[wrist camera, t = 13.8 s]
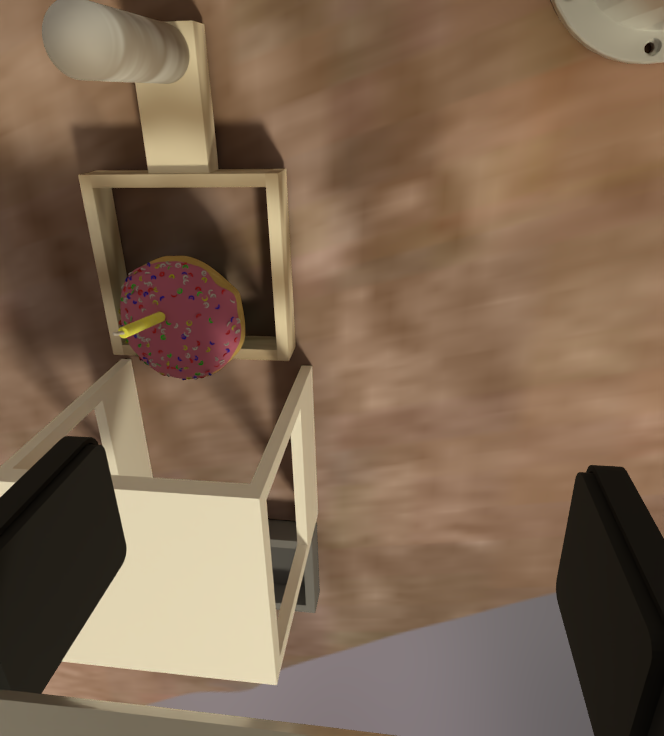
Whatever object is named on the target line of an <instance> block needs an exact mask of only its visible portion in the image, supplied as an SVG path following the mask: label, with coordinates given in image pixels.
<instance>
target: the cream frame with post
mask: <svg viewBox="0 0 664 736" xmlns="http://www.w3.org/2000/svg"><path fill="white" fill-rule="evenodd" d="M42 37H43V43H44V47H45V49H46V52H47V54H48V56H49V58H50V59H51V61H52V62H53V64H54V65H55V66H56V67H57V68H58V69H59V70H60V71H61V72H62V73H64V74H65V75H67V76H68V77H70V78H73V79H76V80H87V81H111V82H135V85H136V92H137V99H138V106H139V112H140V119H141V126H142V132H143V139H144V146H145V153H146V159H147V166H148V170H97V171H93V172H88V173H84V174H80V175H78V177H79V182H80V187H81V193H82V198H83V203H84V208H85V213H86V218H87V223H88V228H89V233H90V238H91V243H92V248H93V253H94V258H95V263H96V268H97V273H98V279H99V284H100V289H101V294H102V299H103V304H104V309H105V314H106V319H107V324H108V329H109V334H110V339H111V344H112V349H113V354H114V355H135V356H137V355H136V353H135V351H134V350H133V349H132V348H131V346H130V345H129V343H126V338H121V337H120V336H119V335H118V336H114V335H113V334H112V333H113V332H118V330H119V328H120V327H121V325H119V321H120V320H121V319H120V315H121V314H119V312H120V311H119V309H120V302H121V293H122V289H121V287H122V286H123V285H124V283H125V280H126V278H127V273H126V267H125V262H124V256H123V250H122V245H121V239H120V233H119V228H118V222H117V216H116V211H115V205H114V199H113V194H112V188H164V187H266V195H267V210H268V224H269V239H270V254H271V269H272V283H273V298H274V313H275V327H276V337H274V336H245V339H244V343H243V345H242V347H241V349H240V351H239V352H238V353H237V354H236V355H235V356H234V357H233V358H232V359H248V360H276V361H289V360H290V358H291V356H292V354H293V351H294V349H295V347H296V345H295V326H294V307H293V288H292V269H291V251H290V232H289V213H288V194H287V175H286V169H219V168H218V158H217V148H216V138H215V128H214V118H213V108H212V98H211V88H210V78H209V68H208V58H207V48H206V38H205V28H204V24H202V23H199V22H196V21H193V20H191V21H168V22H162V21H158V20H155V19H151V18H148V17H144V16H141V15H137V14H134V13H130V12H127V11H123V10H120V9H116V8H113V7H109V6H106V5H102V4H98V3H95V2H91V1H88V0H57V1H55V2H54V3H53V4H52V5H51V6H50V7H49V9H48V10H47V12H46V14H45V16H44V19H43V24H42ZM118 311H119V312H118ZM120 323H121V322H120Z"/></svg>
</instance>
